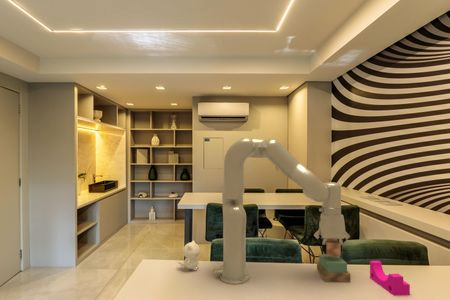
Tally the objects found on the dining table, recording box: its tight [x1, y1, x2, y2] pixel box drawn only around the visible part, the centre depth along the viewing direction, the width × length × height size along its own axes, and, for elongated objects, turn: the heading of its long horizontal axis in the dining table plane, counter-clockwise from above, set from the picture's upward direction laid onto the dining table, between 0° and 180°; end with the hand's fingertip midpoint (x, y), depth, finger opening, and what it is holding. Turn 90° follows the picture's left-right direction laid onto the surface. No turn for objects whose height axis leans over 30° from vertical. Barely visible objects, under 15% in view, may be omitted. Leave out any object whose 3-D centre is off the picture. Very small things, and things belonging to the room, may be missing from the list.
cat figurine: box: [176, 240, 201, 271], centre depth 128 cm, size 9×11×12 cm
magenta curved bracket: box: [369, 260, 411, 297], centre depth 111 cm, size 15×6×8 cm, turn 4°
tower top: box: [318, 253, 348, 273], centre depth 120 cm, size 8×10×4 cm
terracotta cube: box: [326, 239, 342, 257], centre depth 120 cm, size 6×6×6 cm
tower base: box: [316, 261, 351, 283], centre depth 120 cm, size 10×12×4 cm
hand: (331, 252), depth 120 cm, fingers closed on terracotta cube, 5 cm apart
